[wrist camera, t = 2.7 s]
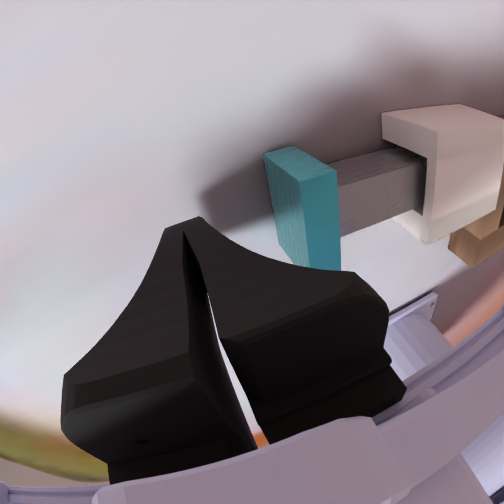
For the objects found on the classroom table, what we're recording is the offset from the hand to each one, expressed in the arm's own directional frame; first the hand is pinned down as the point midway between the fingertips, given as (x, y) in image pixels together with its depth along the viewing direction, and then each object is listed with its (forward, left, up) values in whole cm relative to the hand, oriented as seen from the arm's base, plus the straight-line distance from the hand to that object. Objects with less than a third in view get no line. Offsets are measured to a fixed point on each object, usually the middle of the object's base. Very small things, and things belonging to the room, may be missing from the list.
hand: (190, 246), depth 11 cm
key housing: (0, -12, -1) cm, 12 cm away
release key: (0, -7, -1) cm, 7 cm away
